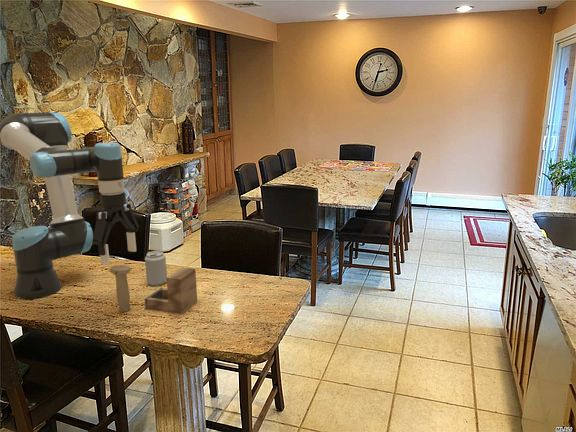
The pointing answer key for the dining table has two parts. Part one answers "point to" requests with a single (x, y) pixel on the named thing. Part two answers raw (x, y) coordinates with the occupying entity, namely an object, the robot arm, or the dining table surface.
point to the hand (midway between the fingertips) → (119, 257)
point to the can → (156, 268)
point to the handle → (122, 286)
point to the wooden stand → (175, 293)
